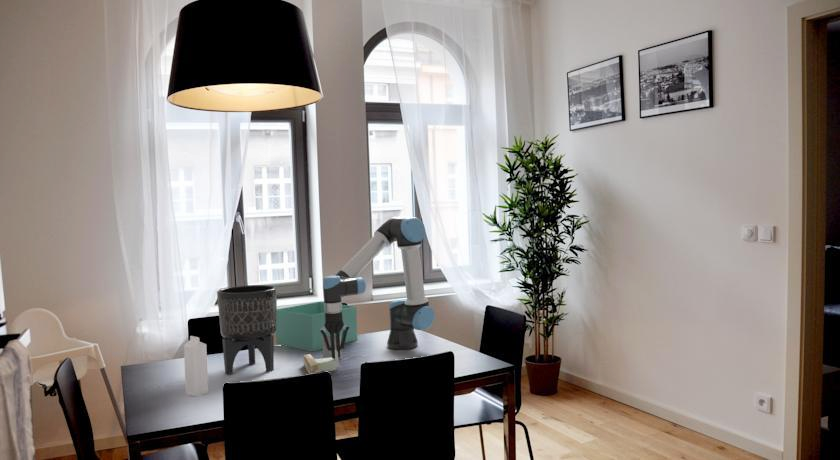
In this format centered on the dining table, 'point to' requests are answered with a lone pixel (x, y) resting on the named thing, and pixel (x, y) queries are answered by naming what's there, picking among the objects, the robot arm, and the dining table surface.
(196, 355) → the milk
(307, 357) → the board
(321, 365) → the block
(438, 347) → the dining table surface
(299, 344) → the box
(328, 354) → the cup
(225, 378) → the dining table surface
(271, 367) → the planter
